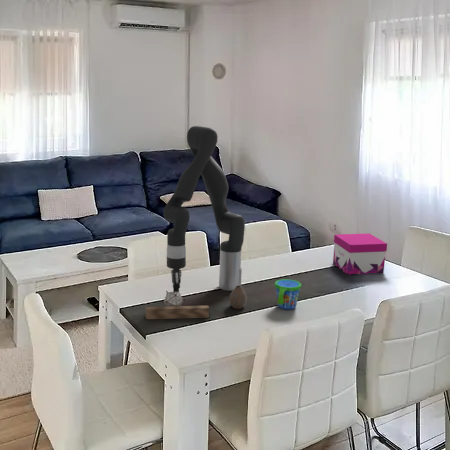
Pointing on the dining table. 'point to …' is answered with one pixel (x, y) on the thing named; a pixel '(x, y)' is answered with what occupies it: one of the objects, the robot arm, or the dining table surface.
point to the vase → (238, 298)
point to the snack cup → (287, 293)
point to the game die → (173, 299)
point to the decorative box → (359, 253)
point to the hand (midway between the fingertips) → (176, 296)
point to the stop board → (177, 312)
